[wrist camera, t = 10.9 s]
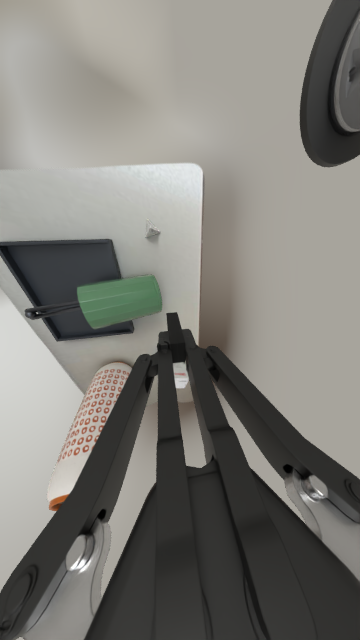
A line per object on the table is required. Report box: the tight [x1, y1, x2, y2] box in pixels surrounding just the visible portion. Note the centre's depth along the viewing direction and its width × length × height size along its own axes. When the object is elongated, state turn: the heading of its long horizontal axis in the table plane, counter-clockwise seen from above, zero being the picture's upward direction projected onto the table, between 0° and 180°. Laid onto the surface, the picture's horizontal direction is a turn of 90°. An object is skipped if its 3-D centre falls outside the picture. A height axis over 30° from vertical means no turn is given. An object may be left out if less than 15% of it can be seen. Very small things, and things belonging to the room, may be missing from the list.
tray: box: [0, 239, 134, 341], centre depth 31 cm, size 23×20×2 cm
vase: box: [47, 362, 132, 511], centre depth 34 cm, size 13×13×28 cm
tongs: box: [25, 299, 82, 320], centre depth 28 cm, size 2×11×21 cm
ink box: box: [157, 362, 189, 388], centre depth 41 cm, size 9×5×12 cm, turn 75°
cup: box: [77, 274, 162, 329], centre depth 28 cm, size 9×9×14 cm
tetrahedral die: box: [146, 219, 160, 238], centre depth 27 cm, size 4×3×3 cm
